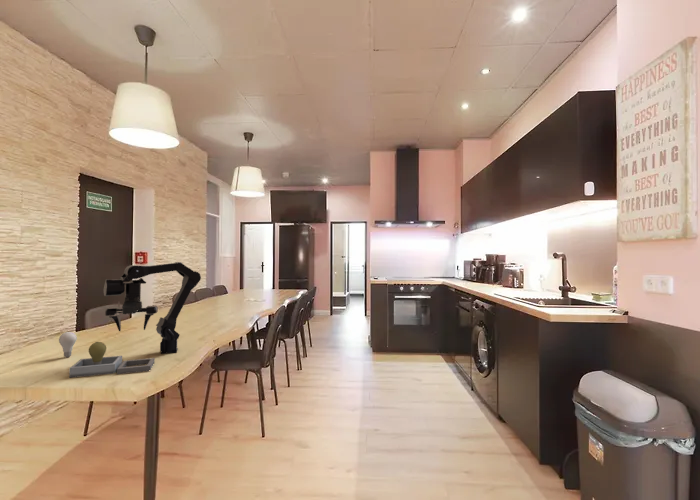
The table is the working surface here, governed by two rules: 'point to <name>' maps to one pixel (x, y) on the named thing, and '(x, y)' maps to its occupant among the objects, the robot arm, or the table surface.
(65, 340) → the lightbulb
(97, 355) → the light bulb
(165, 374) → the table surface
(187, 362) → the table surface
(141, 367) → the socket collar
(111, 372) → the parts tray
